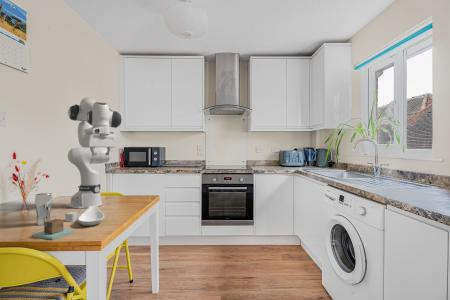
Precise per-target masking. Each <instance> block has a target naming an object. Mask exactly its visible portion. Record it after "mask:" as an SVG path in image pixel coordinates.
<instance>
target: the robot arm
mask: <svg viewBox="0 0 450 300" xmlns="http://www.w3.org/2000/svg"><path fill="white" fill-rule="evenodd" d="M67 115H68V118H69V120H71V121H74V122H75V121H76V122H77V121H78V122H79V123H78V125H77V138H78V139H77V140H78V143H79V145H80V147H73V148H70V149H69V150H68V152H67V159H68V161H69V162H70V163H71V164H72V165H74V166H75V167H76V168H77V170H78V171H79V174H80V185H78V187H77V188H78V191H77V192H76V193H74V194H73V195H72V196H71V198H70V203H68V204H66V207H69V208H73V209H88V208H89V207H90V206H97V207H100V206H102V205H103V201H102V193H101V184H100V183H101V179H100V178H101V177H100V176H101V175H100V172H99V171H98V170H97V169H95V168H93V167H91V166H90V165H91V164H92V165H95V164H96V165H97V164H105V163H109V162H110V160H111V158H112V152H111V151H112V148H114V149H115V148H116V147H117V137H116V133H114V132H113V131H111V129H110V128H112V129H113V128H115V129H116V128H118V127H120V126H121V124H122V115H121V113H119V112H118V111H116V110H114V111H113V110H112V109H110V106H109V104H108V103H107V102H106V103H105V102H98V101H97V100H95V99H94V98H93V97H89V96H88V97H87V96H86V97H83V98H82V99H81V100H80V103H79V104H77V103H76V104H74V105H71V106H70V107H69V109H68V110H67Z"/></svg>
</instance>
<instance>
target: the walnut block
mask: <svg viewBox="0 0 450 300" xmlns="http://www.w3.org/2000/svg"><path fill="white" fill-rule="evenodd" d="M43 227H44V228H43V231H44V233H46V234H52V235H53V234H56V233H59V232H62V231H63V229H64V219H59V218H53V219H50V220H49V221H45V222H44V225H43Z"/></svg>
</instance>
